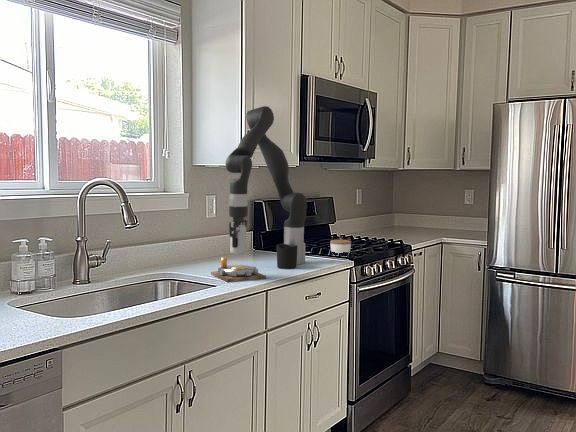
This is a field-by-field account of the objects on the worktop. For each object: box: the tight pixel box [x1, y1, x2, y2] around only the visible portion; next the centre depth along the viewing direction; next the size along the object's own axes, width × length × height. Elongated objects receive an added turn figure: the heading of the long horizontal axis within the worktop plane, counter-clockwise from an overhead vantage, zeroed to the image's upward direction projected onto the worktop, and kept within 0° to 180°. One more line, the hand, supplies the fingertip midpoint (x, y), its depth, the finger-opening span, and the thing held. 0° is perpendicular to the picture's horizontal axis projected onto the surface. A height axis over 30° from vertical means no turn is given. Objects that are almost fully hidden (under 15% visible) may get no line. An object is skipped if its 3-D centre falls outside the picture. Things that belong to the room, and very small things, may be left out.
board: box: [210, 270, 267, 283], centre depth 225 cm, size 17×17×1 cm
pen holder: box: [276, 243, 298, 270], centre depth 248 cm, size 9×9×10 cm
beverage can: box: [229, 225, 247, 256], centre depth 224 cm, size 6×6×12 cm
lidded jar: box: [329, 237, 352, 253], centre depth 284 cm, size 11×11×9 cm
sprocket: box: [217, 257, 259, 276], centre depth 225 cm, size 16×16×6 cm
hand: (238, 246), depth 224 cm, fingers closed on beverage can, 6 cm apart
